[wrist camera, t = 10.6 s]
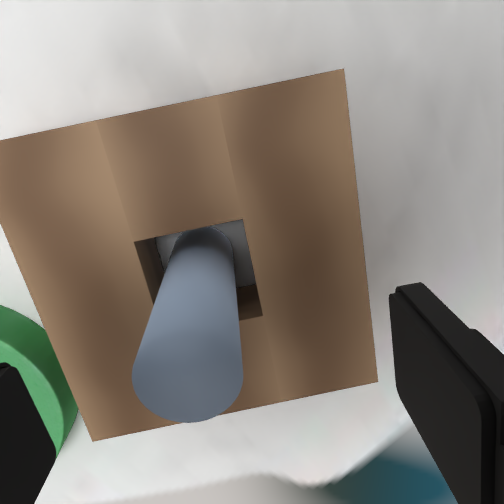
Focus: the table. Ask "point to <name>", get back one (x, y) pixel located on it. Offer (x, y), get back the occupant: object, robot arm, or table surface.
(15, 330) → the tape roll
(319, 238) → the block
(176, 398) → the peg
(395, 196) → the table surface
